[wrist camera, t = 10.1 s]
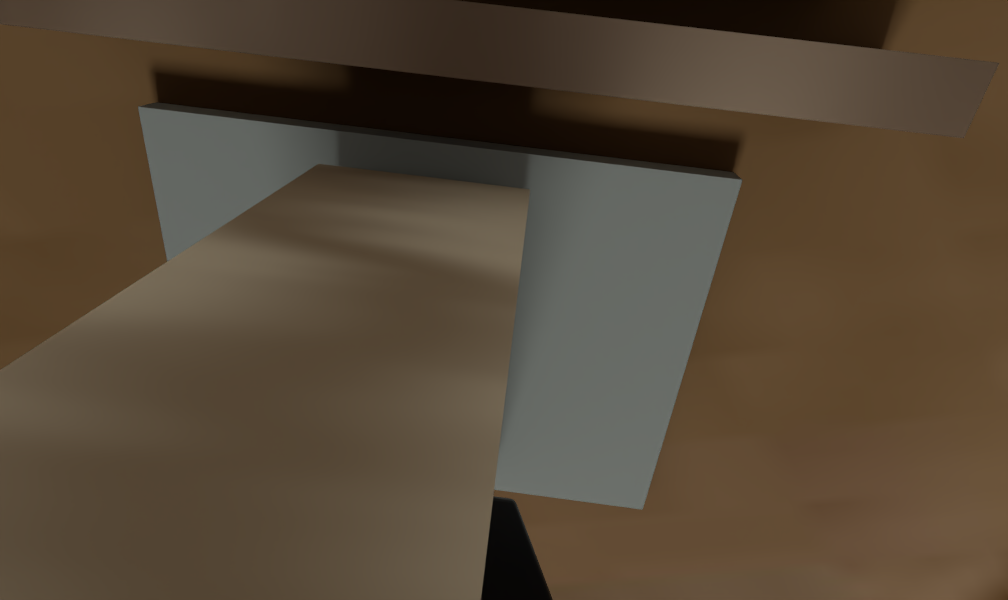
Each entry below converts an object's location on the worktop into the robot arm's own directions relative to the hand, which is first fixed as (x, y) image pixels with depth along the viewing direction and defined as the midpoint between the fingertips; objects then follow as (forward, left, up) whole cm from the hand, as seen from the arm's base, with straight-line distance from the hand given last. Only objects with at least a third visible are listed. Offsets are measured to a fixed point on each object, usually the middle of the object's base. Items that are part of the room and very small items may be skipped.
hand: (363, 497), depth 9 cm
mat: (0, 0, -6) cm, 6 cm away
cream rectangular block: (0, 0, -4) cm, 4 cm away
